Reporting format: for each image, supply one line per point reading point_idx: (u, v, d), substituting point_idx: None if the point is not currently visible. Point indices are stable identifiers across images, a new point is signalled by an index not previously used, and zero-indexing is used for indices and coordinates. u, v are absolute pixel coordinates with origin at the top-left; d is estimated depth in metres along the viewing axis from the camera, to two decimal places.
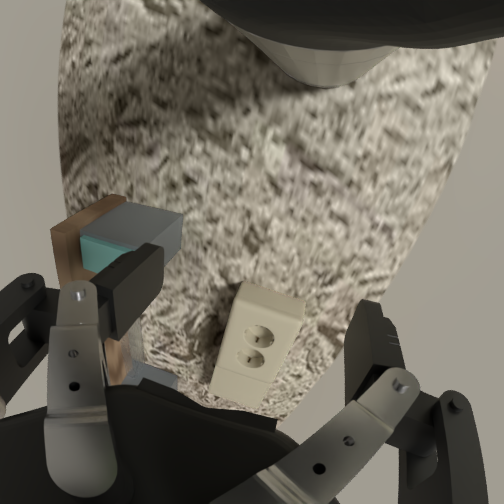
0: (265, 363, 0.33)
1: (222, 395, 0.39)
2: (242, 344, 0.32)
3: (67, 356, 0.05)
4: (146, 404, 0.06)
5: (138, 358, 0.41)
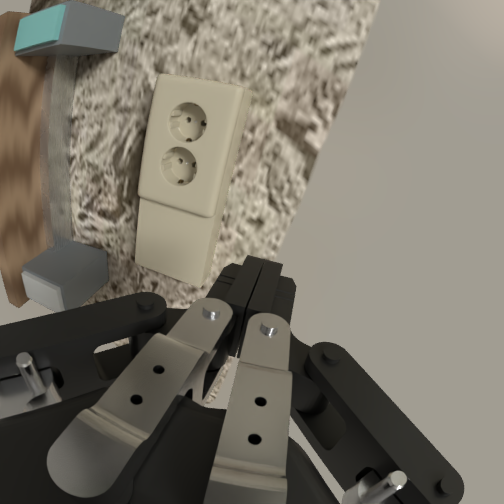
0: (198, 171, 0.23)
1: (152, 265, 0.29)
2: (167, 141, 0.22)
3: (151, 369, 0.06)
4: None
5: (61, 222, 0.31)
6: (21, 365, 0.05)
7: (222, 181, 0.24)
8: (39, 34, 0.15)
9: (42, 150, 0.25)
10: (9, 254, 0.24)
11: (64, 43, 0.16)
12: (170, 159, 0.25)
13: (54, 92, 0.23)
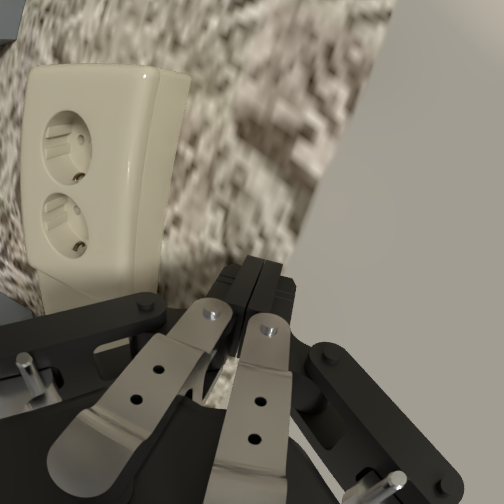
0: (90, 237, 0.12)
1: None
2: (43, 183, 0.11)
3: (151, 369, 0.06)
4: None
5: None
6: (21, 365, 0.05)
7: (134, 252, 0.13)
8: None
9: None
10: None
11: None
12: (65, 207, 0.14)
13: None
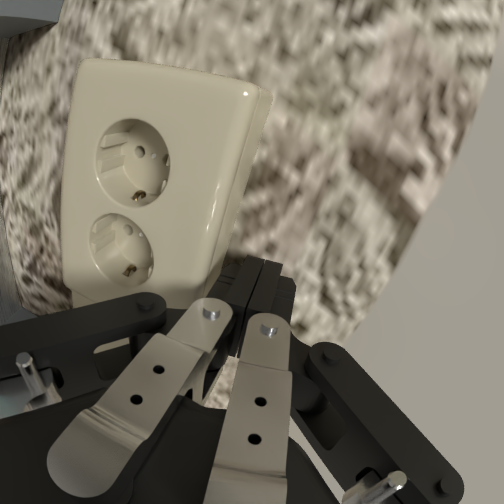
0: (156, 267, 0.11)
1: None
2: (95, 200, 0.11)
3: (151, 369, 0.06)
4: None
5: (0, 288, 0.18)
6: (21, 365, 0.05)
7: (205, 283, 0.12)
8: None
9: None
10: None
11: None
12: (113, 225, 0.13)
13: None
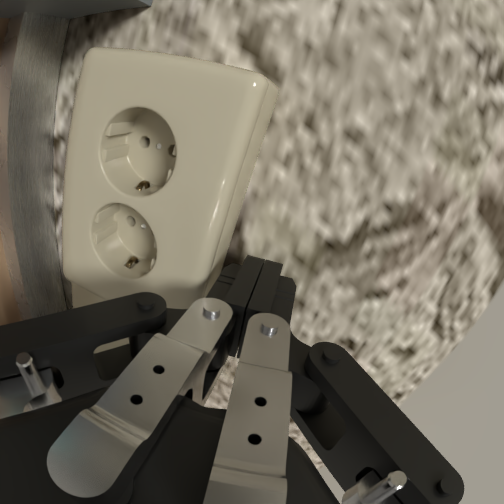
0: (159, 258, 0.11)
1: None
2: (98, 190, 0.10)
3: (151, 369, 0.06)
4: None
5: None
6: (21, 365, 0.05)
7: (209, 276, 0.12)
8: None
9: (0, 203, 0.12)
10: None
11: None
12: (115, 216, 0.13)
13: (16, 87, 0.10)
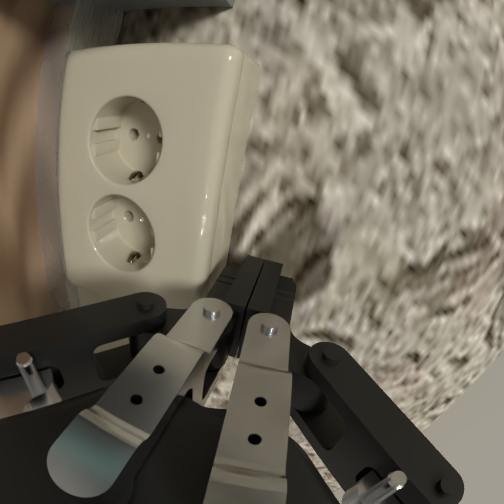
0: (158, 245, 0.11)
1: None
2: (91, 184, 0.10)
3: (151, 369, 0.06)
4: None
5: None
6: (21, 365, 0.05)
7: (211, 259, 0.12)
8: None
9: (44, 223, 0.12)
10: None
11: None
12: (113, 213, 0.13)
13: None
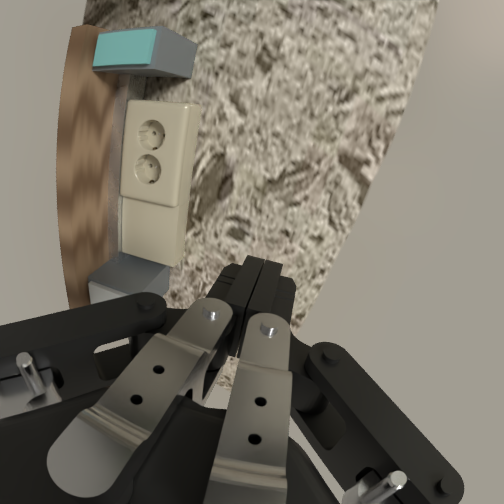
0: (162, 171, 0.29)
1: (135, 251, 0.35)
2: (138, 151, 0.29)
3: (150, 368, 0.06)
4: None
5: None
6: (21, 365, 0.05)
7: (181, 177, 0.30)
8: (127, 54, 0.20)
9: (112, 165, 0.30)
10: (78, 265, 0.29)
11: (156, 68, 0.21)
12: (143, 165, 0.31)
13: None
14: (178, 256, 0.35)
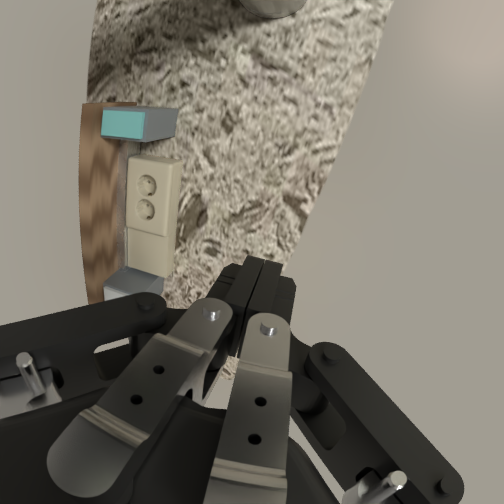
0: (155, 212, 0.42)
1: (138, 266, 0.47)
2: (137, 196, 0.41)
3: (151, 369, 0.06)
4: None
5: None
6: (21, 365, 0.05)
7: (169, 216, 0.42)
8: (125, 130, 0.32)
9: (119, 202, 0.42)
10: (96, 275, 0.41)
11: (146, 141, 0.33)
12: (142, 204, 0.44)
13: None
14: (169, 270, 0.48)
